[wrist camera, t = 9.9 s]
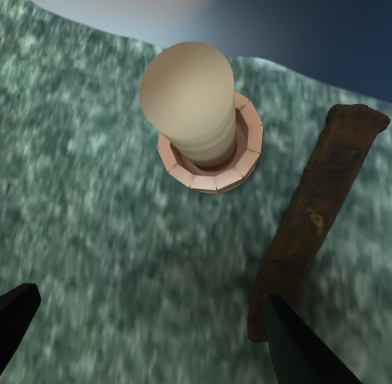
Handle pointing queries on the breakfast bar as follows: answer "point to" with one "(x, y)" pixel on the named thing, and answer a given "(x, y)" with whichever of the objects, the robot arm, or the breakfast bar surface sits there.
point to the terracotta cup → (237, 171)
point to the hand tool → (314, 208)
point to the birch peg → (193, 103)
